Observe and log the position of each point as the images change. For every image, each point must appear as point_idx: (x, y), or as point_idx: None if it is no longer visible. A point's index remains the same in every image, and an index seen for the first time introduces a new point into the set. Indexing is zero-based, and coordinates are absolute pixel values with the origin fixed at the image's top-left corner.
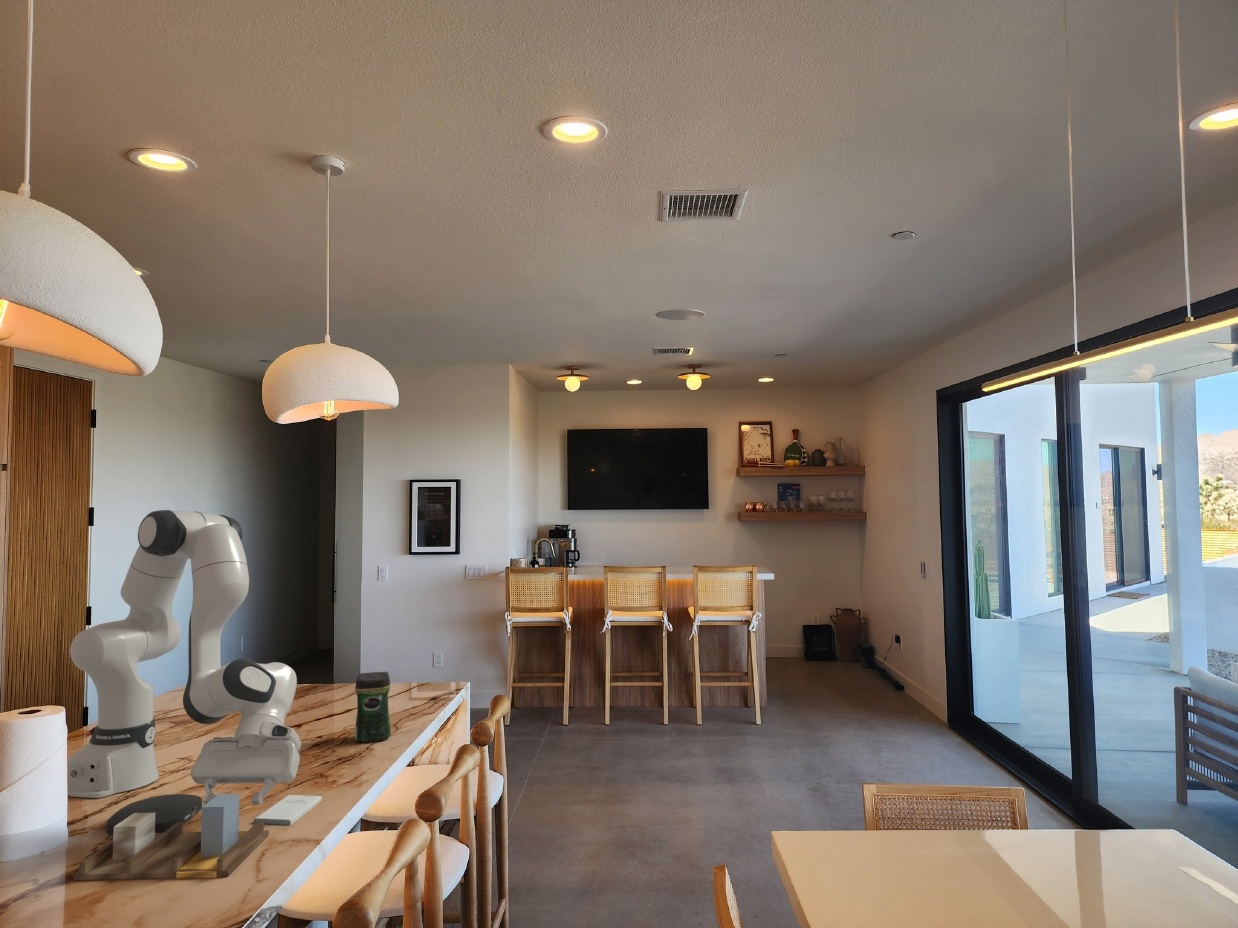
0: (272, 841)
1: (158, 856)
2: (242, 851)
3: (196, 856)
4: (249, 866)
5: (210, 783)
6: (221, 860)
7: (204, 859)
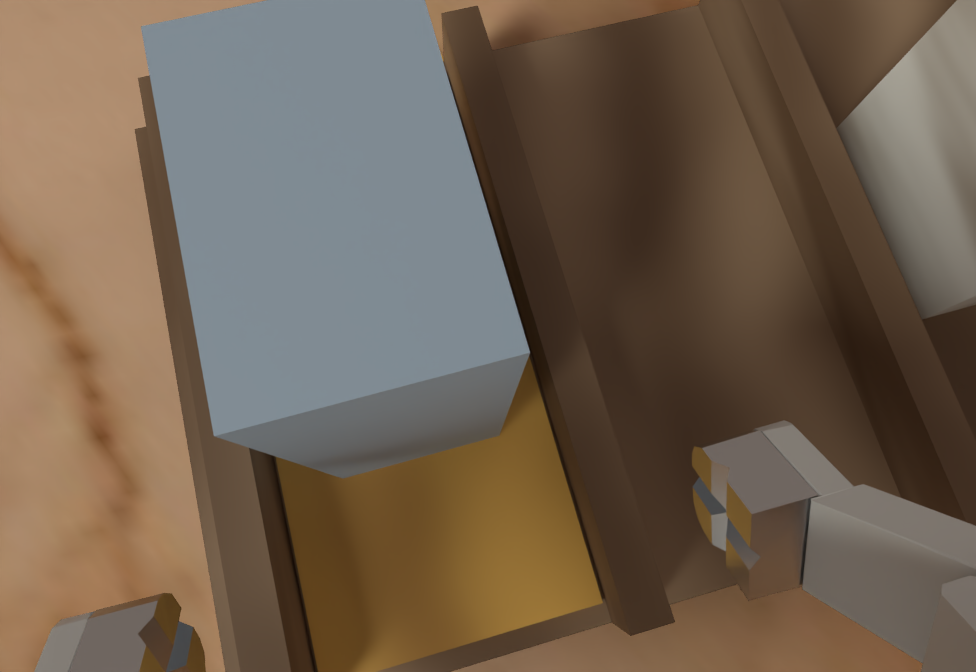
0: None
1: (728, 187)
2: None
3: None
4: (94, 272)
5: (945, 586)
6: None
7: None
